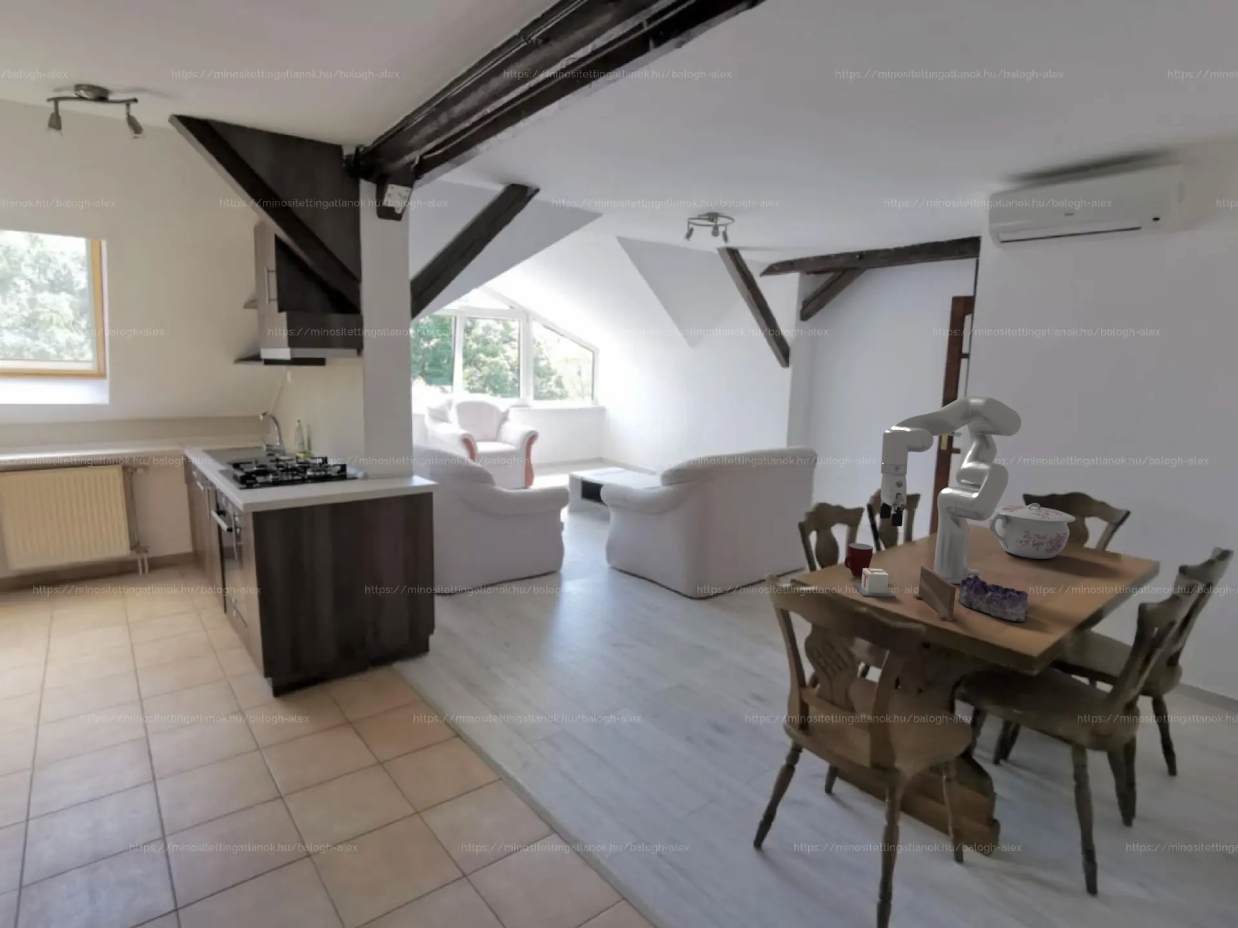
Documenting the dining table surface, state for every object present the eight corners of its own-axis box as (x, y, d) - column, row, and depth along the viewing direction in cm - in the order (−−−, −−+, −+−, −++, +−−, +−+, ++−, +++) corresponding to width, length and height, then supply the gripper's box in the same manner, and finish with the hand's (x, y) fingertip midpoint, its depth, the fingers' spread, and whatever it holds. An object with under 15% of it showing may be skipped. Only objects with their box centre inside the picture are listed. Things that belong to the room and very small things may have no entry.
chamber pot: (1069, 553, 268) (1076, 502, 265) (1071, 569, 245) (1078, 514, 242) (989, 541, 283) (995, 493, 280) (984, 555, 260) (990, 503, 257)
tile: (884, 586, 218) (884, 585, 218) (895, 597, 208) (895, 595, 208) (853, 585, 219) (853, 583, 218) (863, 596, 209) (863, 594, 209)
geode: (947, 605, 203) (951, 573, 203) (964, 603, 210) (968, 571, 210) (1019, 624, 187) (1024, 589, 187) (1036, 621, 195) (1040, 587, 194)
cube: (880, 586, 216) (881, 568, 215) (886, 593, 210) (888, 574, 209) (860, 586, 216) (862, 567, 216) (866, 592, 210) (868, 573, 210)
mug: (856, 580, 224) (859, 551, 222) (836, 574, 230) (838, 545, 229) (875, 575, 230) (878, 547, 229) (855, 569, 237) (857, 541, 235)
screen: (928, 596, 210) (931, 565, 209) (958, 620, 190) (962, 587, 189) (912, 596, 210) (915, 565, 209) (940, 620, 190) (944, 586, 189)
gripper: (917, 474, 201) (913, 529, 204) (895, 464, 218) (892, 515, 221) (892, 474, 201) (888, 529, 204) (872, 464, 218) (869, 515, 221)
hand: (890, 522), depth 213 cm, fingers open, 9 cm apart
